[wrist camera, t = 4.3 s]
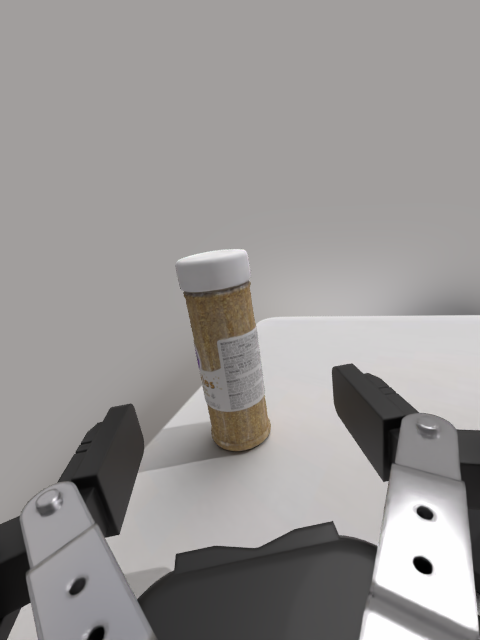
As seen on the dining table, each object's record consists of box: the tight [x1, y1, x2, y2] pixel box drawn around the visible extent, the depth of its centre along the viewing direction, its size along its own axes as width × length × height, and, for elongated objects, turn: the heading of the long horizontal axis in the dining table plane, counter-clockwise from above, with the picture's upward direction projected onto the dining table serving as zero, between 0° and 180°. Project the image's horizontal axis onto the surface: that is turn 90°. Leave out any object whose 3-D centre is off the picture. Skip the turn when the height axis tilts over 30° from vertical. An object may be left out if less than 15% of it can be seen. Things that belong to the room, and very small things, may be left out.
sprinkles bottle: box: [175, 249, 271, 451], centre depth 21 cm, size 5×5×13 cm
